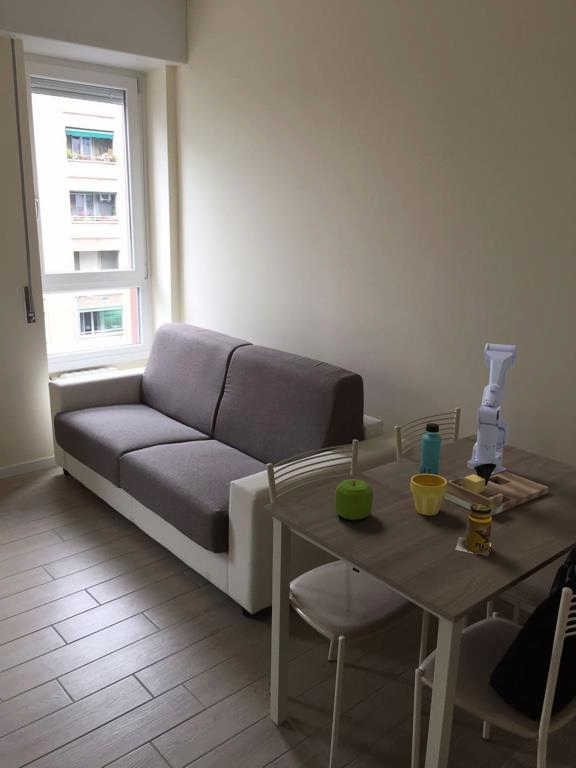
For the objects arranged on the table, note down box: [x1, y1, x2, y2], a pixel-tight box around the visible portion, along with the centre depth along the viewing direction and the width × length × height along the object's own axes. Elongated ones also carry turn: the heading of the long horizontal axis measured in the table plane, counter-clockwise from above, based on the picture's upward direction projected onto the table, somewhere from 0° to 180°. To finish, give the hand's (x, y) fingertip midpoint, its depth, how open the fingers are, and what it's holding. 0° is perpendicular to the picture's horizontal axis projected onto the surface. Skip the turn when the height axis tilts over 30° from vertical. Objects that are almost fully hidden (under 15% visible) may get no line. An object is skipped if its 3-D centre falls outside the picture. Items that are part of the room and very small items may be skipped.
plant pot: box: [410, 473, 448, 516], centre depth 190 cm, size 10×10×10 cm
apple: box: [334, 478, 374, 521], centre depth 187 cm, size 11×11×11 cm
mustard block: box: [462, 473, 485, 493], centre depth 201 cm, size 4×4×4 cm
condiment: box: [455, 503, 493, 555], centre depth 169 cm, size 7×8×12 cm
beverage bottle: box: [419, 422, 443, 476], centre depth 209 cm, size 6×7×20 cm
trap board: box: [443, 470, 549, 517], centre depth 202 cm, size 30×16×6 cm, turn 126°
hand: (482, 485), depth 203 cm, fingers closed
